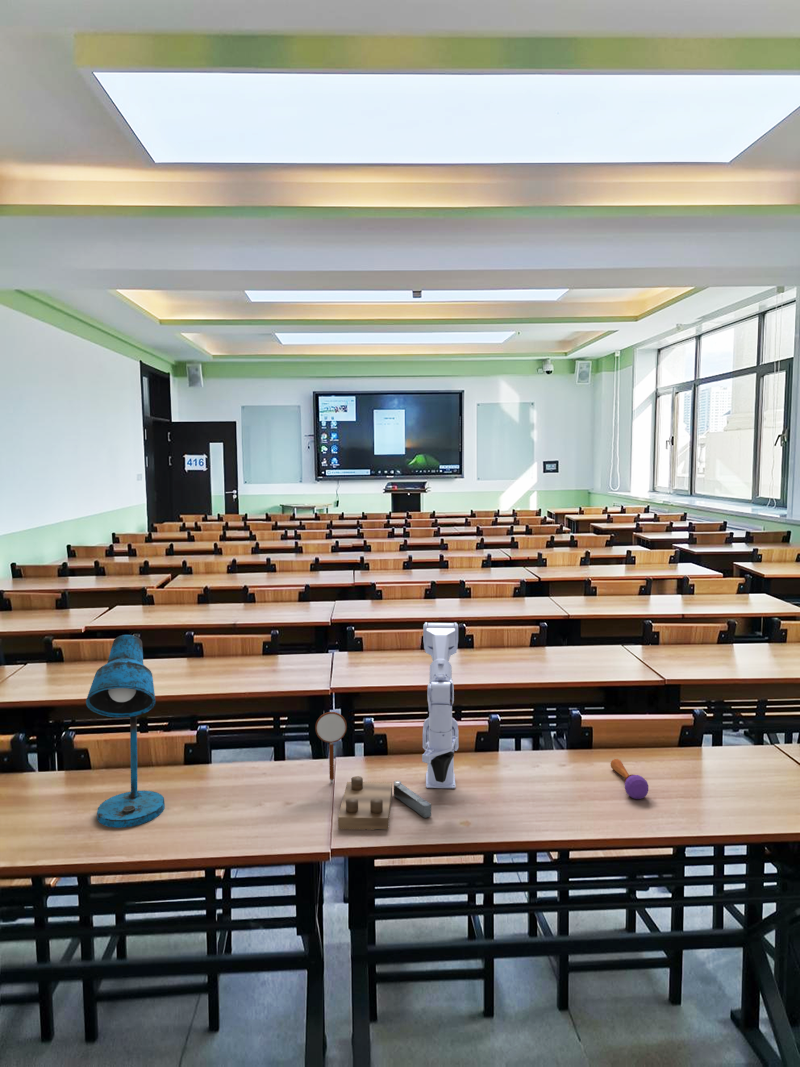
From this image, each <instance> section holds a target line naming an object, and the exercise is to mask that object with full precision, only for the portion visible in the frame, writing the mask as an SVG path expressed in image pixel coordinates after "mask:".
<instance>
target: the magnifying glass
mask: <svg viewBox="0 0 800 1067" xmlns="http://www.w3.org/2000/svg"><path fill="white" fill-rule="evenodd" d="M314 727H315V733H316V735H317V737H318V738H319V740H321V741H322V742H324V743H329V744H328V746H329V747H328V748H329V749H328V751H329V753H328V756H329V757H328V758H329V759H328V760H329V761H328V762H329V763H328V764H329V781H330V783H334V779H335V764H334V762H335V761H334V760H335V759H334V758H335V756H334V754H335V753H334V750H335V749H334V746H335V745H334V743H336V742H339V741H341V740H342V738H344V736H345V734H347V730H348V729H347V728H348V725H347V720H346V719H345V717H344V716H343V715H342V714H340V713H338V712H335V711H328V712H325V713H323V714H321V715H320V716H319V717H318V719H317V720H316V722H315V725H314Z"/></svg>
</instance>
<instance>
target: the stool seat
mask: <svg viewBox="0 0 800 1067" xmlns="http://www.w3.org/2000/svg"><path fill="white" fill-rule="evenodd" d="M350 779H351V780H350V781H347V782H346V786H345V789H344V794H343V797H342V800H341V805H340V808H339V812H338V817H337V826H338V827H337V829H338V830H365V829H367V830H368V831H369V830H371V831H372V830H373V831H375V830H374V829H388V830H389V827H388V826H390V818H389V817H390V816H391V808H392V799H393V782H386V781H385V782H384V781H383V782H380V781H377V782H376V781H375V782H374V781H373V782H371V781H364V777H362V776H352V777H351V778H350Z"/></svg>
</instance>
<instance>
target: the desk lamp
mask: <svg viewBox="0 0 800 1067" xmlns="http://www.w3.org/2000/svg"><path fill="white" fill-rule="evenodd" d="M85 705H86V707H87V709H89V710H90V711H91V712H93V713H96V714H98V715H101V716H106V717H110V718H111V717H112V718H129V725H130V726H129V729H130V732H129V733H130V735H129V736H130V739H129V740H130V791H126V792H123V793H119V794H116V795H113V796H111V797H110V798H108V799H105V800H104V801H103V802H101V804H100V805H99V806H98V807H97V809H96V810H97V811H96V819H97V821H98V823H99V824H101V825H102V826H105V827H108V828H116V829H117V828H120V829H121V828H130V827H135V826H139V825H142V824H145V823H148V822H151V821H153V820H155V819H156V818H157V817H159V816H160V815H161V814H162V813H163V812H164V810H165V809H166V808H165V807H166V806H165V797H164V796H163V795H162V794H161V793H159V792H156V791H152V790H146V789H145V790H138V723H137V722H138V720H137V719H138V718H137V716H141V715H143V714H146V713H148V712H150V711H151V710H152V709H154V707H155V706H156V694H155V686H154V678H153V672H152V670H151V669H150V668H148V667H147V666H146V665H144V651H143V641H142V639H141V638H139V637H138V636H135V635H132V634H122V635H119V636H117V637H116V638H115V639H113V641H112V644H111V649H110V652H109V655H108V659H107V663H105V664H104V665H101V667H99V668H98V669H96V672H95V674H94V677H93V680H92V682H91V685H90V688H89V692H88V694H87V697H86V699H85Z"/></svg>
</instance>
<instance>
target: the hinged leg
mask: <svg viewBox="0 0 800 1067" xmlns="http://www.w3.org/2000/svg"><path fill="white" fill-rule="evenodd" d="M393 796H394V797H395V798H397V799H398V801H401V802H402V803H403V804H404V805H406V806H407V807H409V808H410V809H412V810H413V811H414V812H416V813H417V814H418V815H420V816H421V817H423V819H426V818H429V817H432V804H431V802H429V801H427V800H426V799H424V798H422V796H420V795H419V794H417V793H416V792H415V791H413V790H411V789H410V788H408V787H407V786H406V785H404V784H403V783H402V781H401V780H394V781H393Z"/></svg>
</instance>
